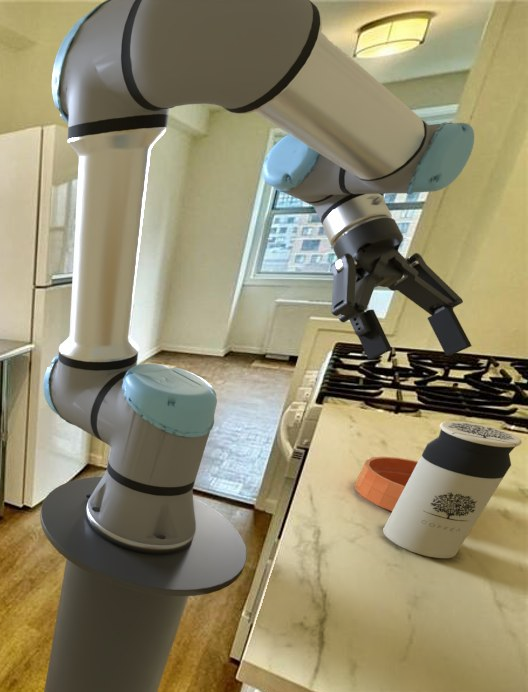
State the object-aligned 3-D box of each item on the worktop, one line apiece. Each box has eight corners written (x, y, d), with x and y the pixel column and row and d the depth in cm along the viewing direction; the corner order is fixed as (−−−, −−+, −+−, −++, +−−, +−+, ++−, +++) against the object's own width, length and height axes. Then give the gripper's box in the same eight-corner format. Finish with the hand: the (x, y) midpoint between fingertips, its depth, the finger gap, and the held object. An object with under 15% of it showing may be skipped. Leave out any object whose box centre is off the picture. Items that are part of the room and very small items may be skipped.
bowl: (348, 501, 81) (360, 475, 79) (358, 473, 90) (369, 449, 88) (462, 535, 73) (479, 508, 70) (461, 501, 81) (476, 475, 79)
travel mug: (384, 520, 76) (439, 415, 68) (455, 543, 71) (523, 431, 63) (378, 542, 71) (437, 431, 63) (454, 568, 66) (527, 450, 58)
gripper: (314, 214, 70) (372, 341, 64) (454, 215, 74) (523, 335, 67) (273, 250, 77) (321, 369, 71) (403, 250, 81) (460, 362, 74)
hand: (420, 353), depth 69 cm, fingers open, 13 cm apart
